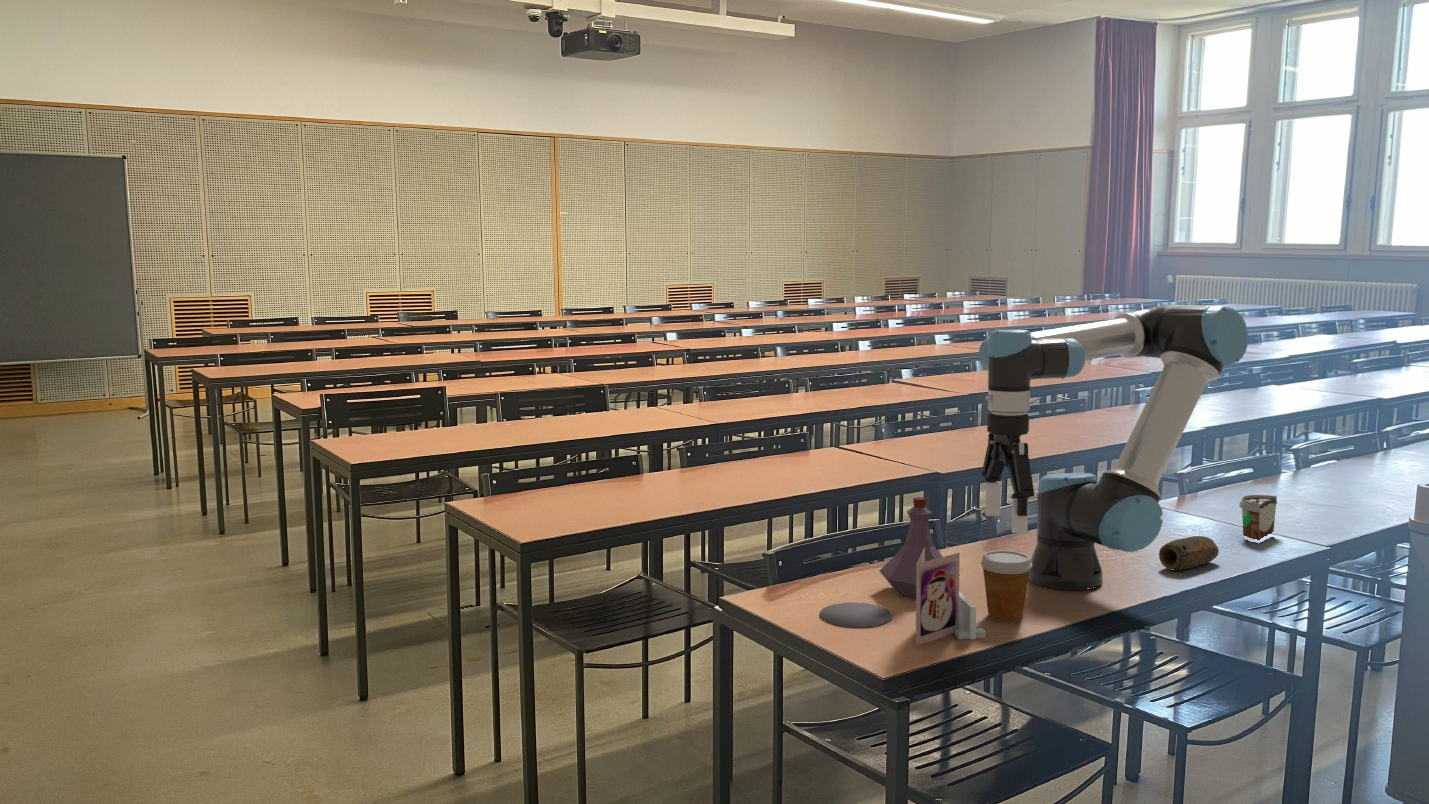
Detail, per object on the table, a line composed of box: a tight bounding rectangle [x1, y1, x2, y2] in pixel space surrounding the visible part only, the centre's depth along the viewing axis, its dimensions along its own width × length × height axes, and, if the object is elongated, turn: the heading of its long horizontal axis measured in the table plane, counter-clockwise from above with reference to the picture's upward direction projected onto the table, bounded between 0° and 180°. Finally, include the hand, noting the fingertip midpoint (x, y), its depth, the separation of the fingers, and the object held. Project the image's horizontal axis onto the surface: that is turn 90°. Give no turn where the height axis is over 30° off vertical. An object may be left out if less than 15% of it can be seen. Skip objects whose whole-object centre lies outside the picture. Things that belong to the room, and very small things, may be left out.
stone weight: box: [1158, 535, 1220, 571], centre depth 221 cm, size 15×7×7 cm, turn 127°
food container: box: [1238, 494, 1278, 540], centre depth 243 cm, size 12×6×10 cm, turn 133°
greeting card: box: [915, 548, 961, 646], centre depth 182 cm, size 11×7×15 cm, turn 126°
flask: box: [879, 496, 961, 601], centre depth 206 cm, size 16×16×20 cm
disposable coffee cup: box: [980, 550, 1032, 624], centre depth 190 cm, size 10×10×12 cm
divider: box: [954, 590, 987, 640], centre depth 188 cm, size 5×17×6 cm, turn 5°
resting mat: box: [819, 601, 893, 629], centre depth 194 cm, size 14×14×1 cm
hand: (1005, 523), depth 189 cm, fingers open, 13 cm apart
